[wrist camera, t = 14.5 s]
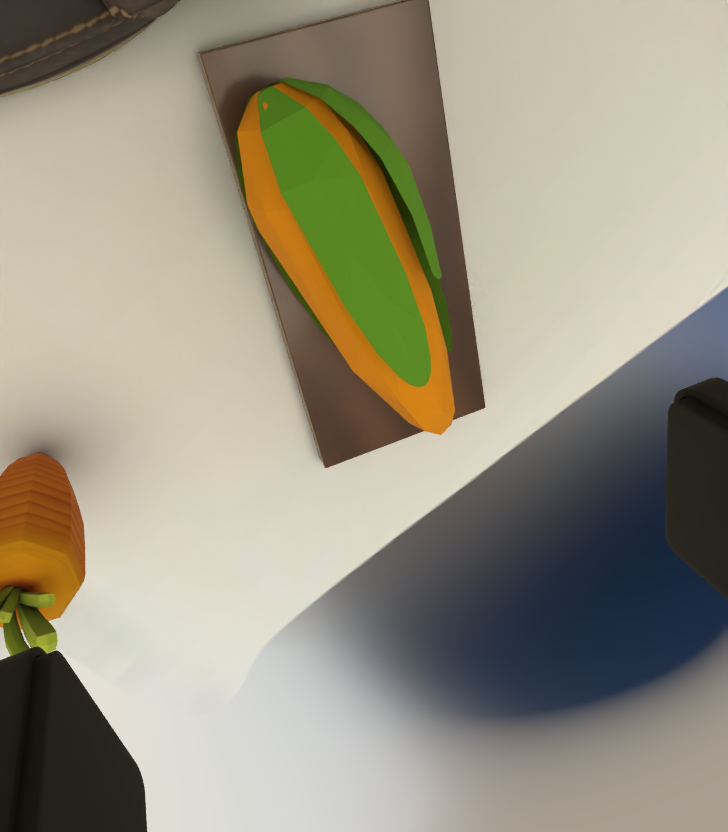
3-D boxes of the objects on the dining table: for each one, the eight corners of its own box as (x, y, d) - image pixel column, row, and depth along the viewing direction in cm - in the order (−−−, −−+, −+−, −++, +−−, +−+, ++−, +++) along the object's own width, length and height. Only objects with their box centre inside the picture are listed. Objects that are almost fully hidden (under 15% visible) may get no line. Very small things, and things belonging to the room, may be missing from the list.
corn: (376, 36, 24) (538, 430, 35) (330, 35, 31) (479, 368, 42) (199, 142, 25) (415, 501, 36) (190, 118, 31) (375, 429, 42)
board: (418, -4, 33) (428, -6, 32) (477, 400, 44) (485, 408, 44) (196, 53, 31) (199, 53, 30) (320, 459, 43) (325, 469, 42)
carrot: (-15, 495, 37) (-76, 723, 24) (-11, 412, 35) (-75, 613, 22) (85, 498, 39) (76, 711, 26) (93, 420, 37) (88, 609, 24)
